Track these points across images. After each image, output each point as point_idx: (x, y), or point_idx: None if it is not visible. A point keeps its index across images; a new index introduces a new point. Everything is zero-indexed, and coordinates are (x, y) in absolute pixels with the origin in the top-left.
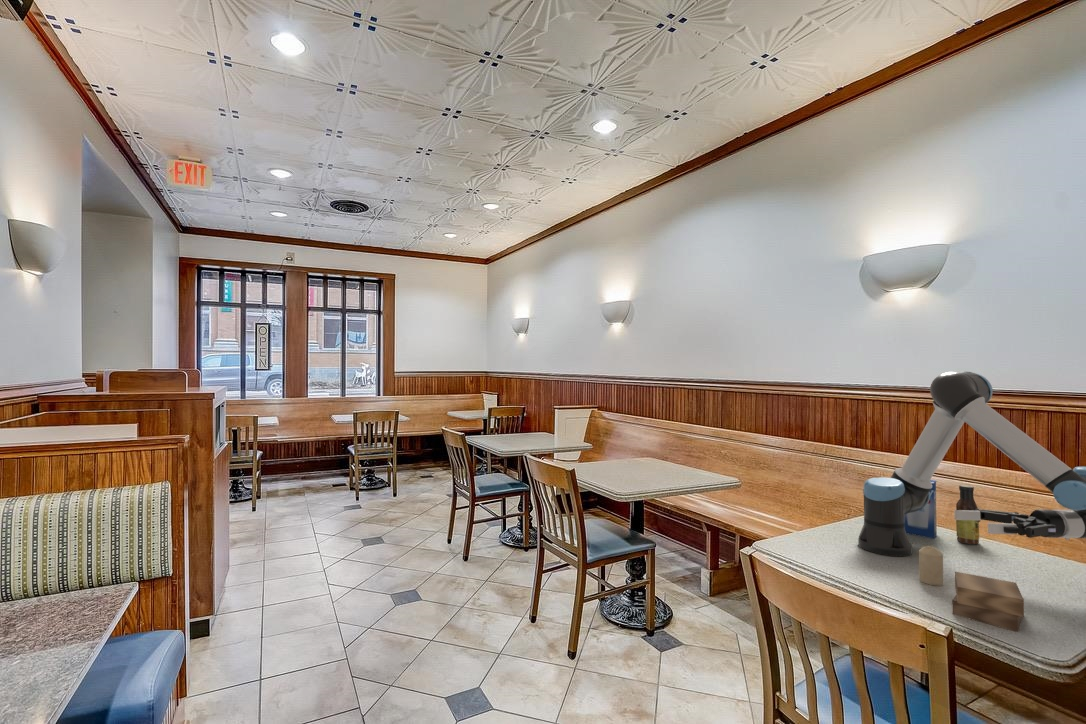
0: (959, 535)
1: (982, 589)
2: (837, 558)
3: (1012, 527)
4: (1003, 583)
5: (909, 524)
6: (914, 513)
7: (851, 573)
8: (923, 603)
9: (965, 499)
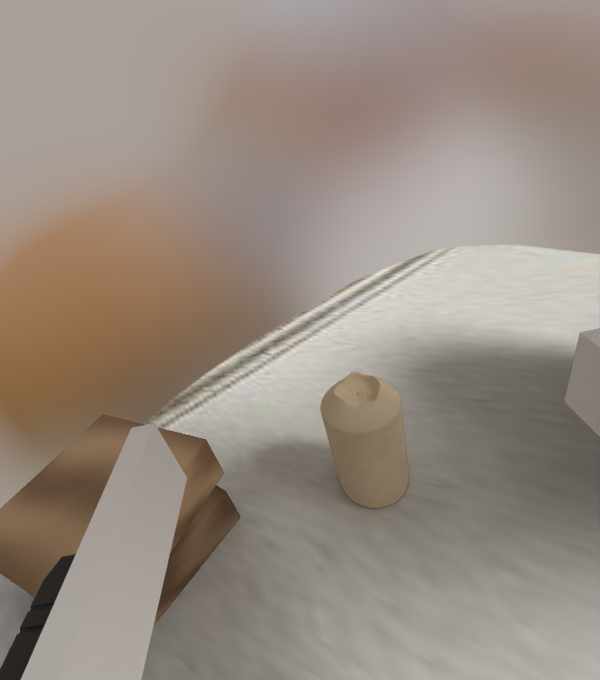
0: None
1: (68, 462)
2: (468, 320)
3: (34, 639)
4: None
5: None
6: None
7: (364, 338)
8: (213, 424)
9: None
